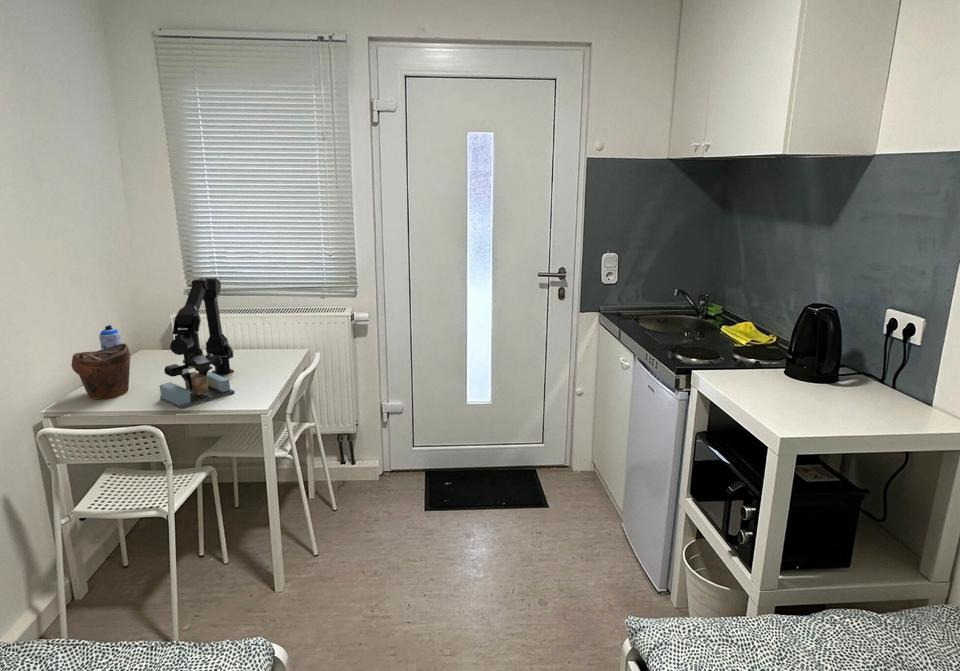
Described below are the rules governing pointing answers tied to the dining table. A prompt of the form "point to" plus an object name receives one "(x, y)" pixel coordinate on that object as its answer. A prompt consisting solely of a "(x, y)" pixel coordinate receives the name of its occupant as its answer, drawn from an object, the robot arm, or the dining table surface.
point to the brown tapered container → (104, 371)
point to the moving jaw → (218, 382)
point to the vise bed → (201, 397)
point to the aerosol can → (109, 337)
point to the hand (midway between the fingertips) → (196, 387)
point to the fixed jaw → (175, 393)
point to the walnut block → (198, 383)
